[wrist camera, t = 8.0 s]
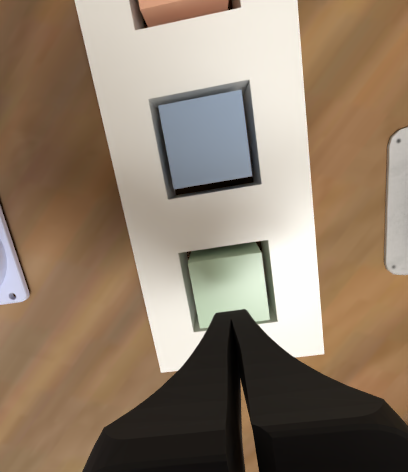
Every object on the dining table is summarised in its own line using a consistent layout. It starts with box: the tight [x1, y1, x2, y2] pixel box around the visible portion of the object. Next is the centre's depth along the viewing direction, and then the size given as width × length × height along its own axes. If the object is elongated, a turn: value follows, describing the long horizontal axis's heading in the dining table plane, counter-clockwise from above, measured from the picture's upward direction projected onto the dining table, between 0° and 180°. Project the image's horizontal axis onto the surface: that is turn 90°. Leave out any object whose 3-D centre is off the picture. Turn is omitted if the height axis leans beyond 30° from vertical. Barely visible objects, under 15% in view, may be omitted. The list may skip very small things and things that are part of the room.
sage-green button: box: [188, 242, 270, 329], centre depth 16 cm, size 4×4×3 cm
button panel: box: [75, 0, 324, 373], centre depth 15 cm, size 10×26×3 cm, turn 9°
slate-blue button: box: [158, 90, 252, 189], centre depth 15 cm, size 4×4×3 cm
